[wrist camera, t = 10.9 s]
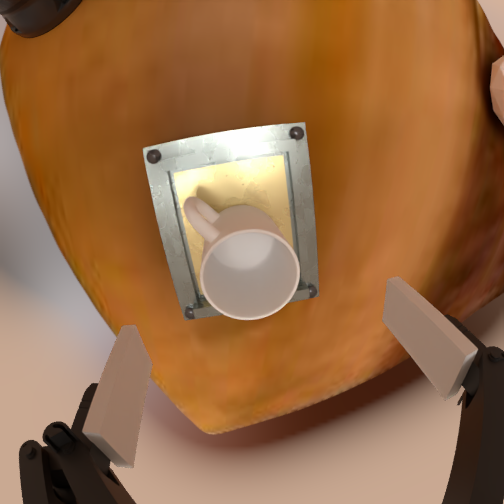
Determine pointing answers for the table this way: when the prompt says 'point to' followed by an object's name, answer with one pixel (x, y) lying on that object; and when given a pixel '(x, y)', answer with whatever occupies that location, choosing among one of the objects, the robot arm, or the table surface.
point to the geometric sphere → (498, 88)
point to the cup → (243, 260)
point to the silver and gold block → (233, 198)
